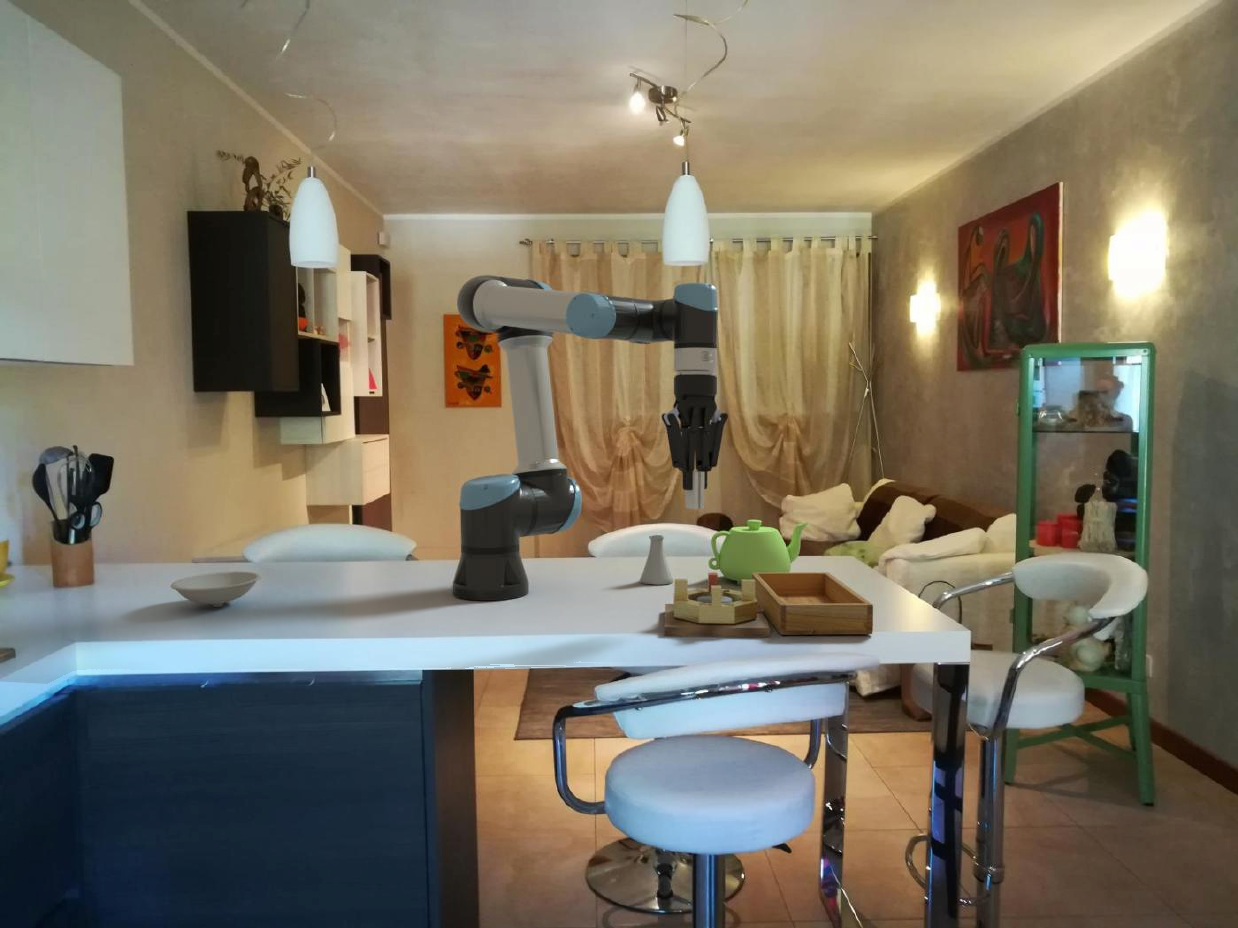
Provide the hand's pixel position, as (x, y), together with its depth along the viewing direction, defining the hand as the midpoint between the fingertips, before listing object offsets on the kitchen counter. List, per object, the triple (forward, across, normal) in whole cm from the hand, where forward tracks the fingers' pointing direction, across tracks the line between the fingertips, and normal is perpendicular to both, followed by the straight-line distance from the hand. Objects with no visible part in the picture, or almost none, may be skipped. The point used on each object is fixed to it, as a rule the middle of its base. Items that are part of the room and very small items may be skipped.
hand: (694, 508), depth 156 cm
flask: (+20, +12, +30) cm, 38 cm away
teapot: (+20, +32, +20) cm, 42 cm away
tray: (+20, +18, -9) cm, 29 cm away
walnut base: (+19, 0, -6) cm, 20 cm away
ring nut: (+18, 0, -6) cm, 19 cm away
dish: (+20, -71, +55) cm, 91 cm away
